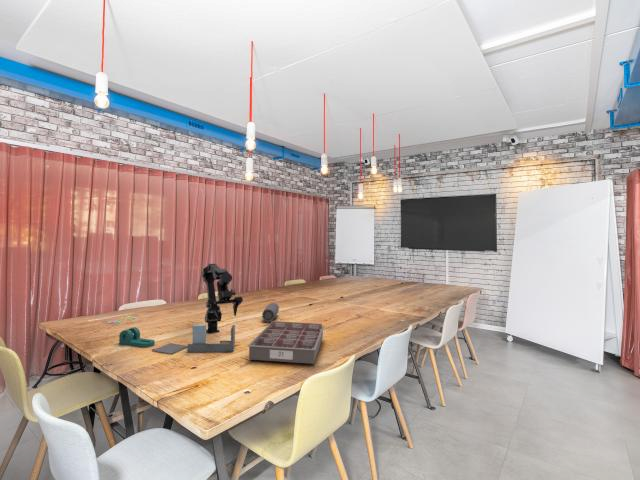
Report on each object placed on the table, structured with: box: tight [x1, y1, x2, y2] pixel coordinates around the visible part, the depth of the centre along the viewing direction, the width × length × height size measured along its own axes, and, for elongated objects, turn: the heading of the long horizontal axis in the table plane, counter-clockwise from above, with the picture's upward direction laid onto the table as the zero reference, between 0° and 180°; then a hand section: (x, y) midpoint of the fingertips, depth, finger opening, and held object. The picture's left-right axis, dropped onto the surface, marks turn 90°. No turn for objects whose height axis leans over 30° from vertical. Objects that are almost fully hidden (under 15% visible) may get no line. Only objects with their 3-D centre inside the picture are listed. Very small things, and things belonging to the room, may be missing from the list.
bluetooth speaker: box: [261, 302, 280, 322], centre depth 235 cm, size 23×9×10 cm, turn 179°
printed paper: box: [88, 312, 140, 325], centre depth 223 cm, size 30×30×2 cm
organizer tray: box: [247, 320, 325, 365], centre depth 173 cm, size 32×40×10 cm
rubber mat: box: [151, 342, 187, 355], centre depth 170 cm, size 12×12×1 cm
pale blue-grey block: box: [191, 323, 207, 344], centre depth 169 cm, size 2×6×13 cm, turn 97°
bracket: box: [118, 326, 156, 349], centre depth 176 cm, size 18×7×8 cm, turn 75°
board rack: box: [186, 324, 236, 354], centre depth 169 cm, size 6×22×12 cm, turn 97°
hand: (226, 316), depth 178 cm, fingers open, 9 cm apart
